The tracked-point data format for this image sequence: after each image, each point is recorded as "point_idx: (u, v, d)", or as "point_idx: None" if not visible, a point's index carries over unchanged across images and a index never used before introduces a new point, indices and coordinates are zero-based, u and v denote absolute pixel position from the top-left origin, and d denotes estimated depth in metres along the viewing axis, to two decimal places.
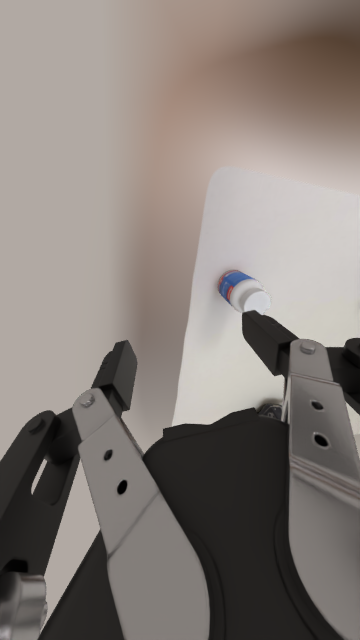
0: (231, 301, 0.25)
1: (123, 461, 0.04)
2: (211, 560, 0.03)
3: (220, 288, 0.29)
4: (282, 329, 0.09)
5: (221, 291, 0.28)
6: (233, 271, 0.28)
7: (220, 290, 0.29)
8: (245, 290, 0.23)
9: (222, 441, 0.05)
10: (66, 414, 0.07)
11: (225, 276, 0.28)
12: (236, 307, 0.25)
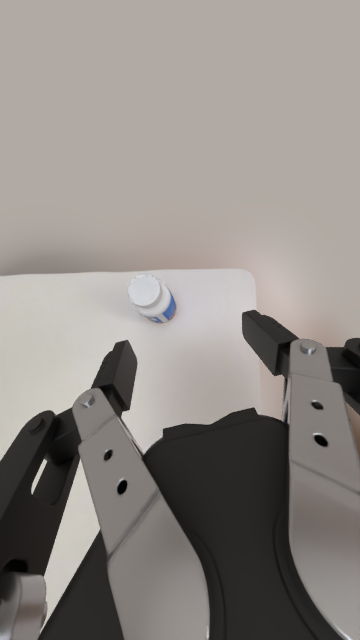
0: None
1: (123, 461, 0.04)
2: (211, 560, 0.03)
3: None
4: (282, 329, 0.09)
5: None
6: None
7: None
8: None
9: (222, 441, 0.05)
10: (65, 414, 0.07)
11: None
12: None
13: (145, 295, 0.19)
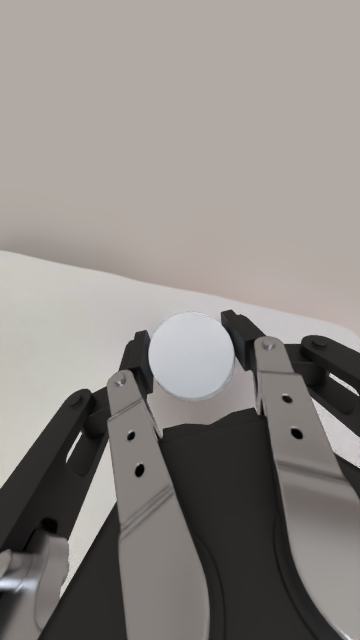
0: None
1: (143, 446, 0.04)
2: (217, 578, 0.03)
3: None
4: (253, 327, 0.09)
5: None
6: None
7: None
8: None
9: (222, 441, 0.05)
10: (98, 393, 0.08)
11: None
12: None
13: (191, 369, 0.07)
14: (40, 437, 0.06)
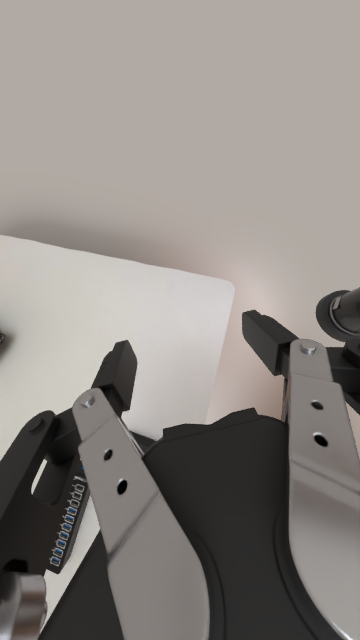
0: None
1: (123, 461, 0.04)
2: (211, 560, 0.03)
3: None
4: (282, 329, 0.09)
5: None
6: None
7: None
8: None
9: (222, 441, 0.05)
10: (65, 414, 0.07)
11: None
12: None
13: None
14: None
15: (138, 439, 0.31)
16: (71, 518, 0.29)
